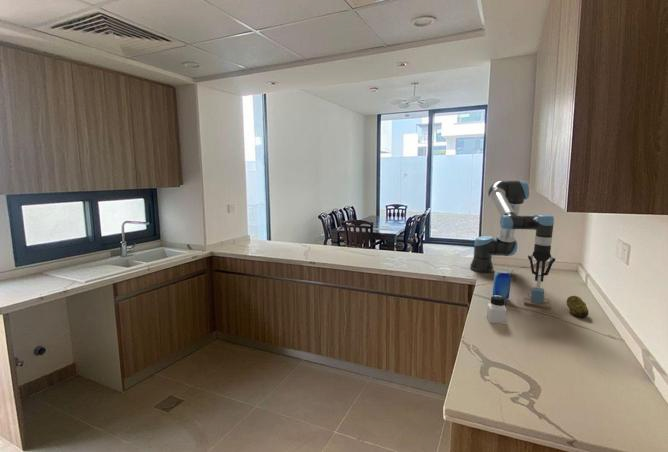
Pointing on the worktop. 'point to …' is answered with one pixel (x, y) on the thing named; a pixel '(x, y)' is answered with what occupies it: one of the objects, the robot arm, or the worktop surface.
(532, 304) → the tan square panel
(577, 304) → the brown oval lump
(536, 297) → the light blue chamfered box
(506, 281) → the beer can
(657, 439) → the worktop surface
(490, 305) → the medicine bottle
